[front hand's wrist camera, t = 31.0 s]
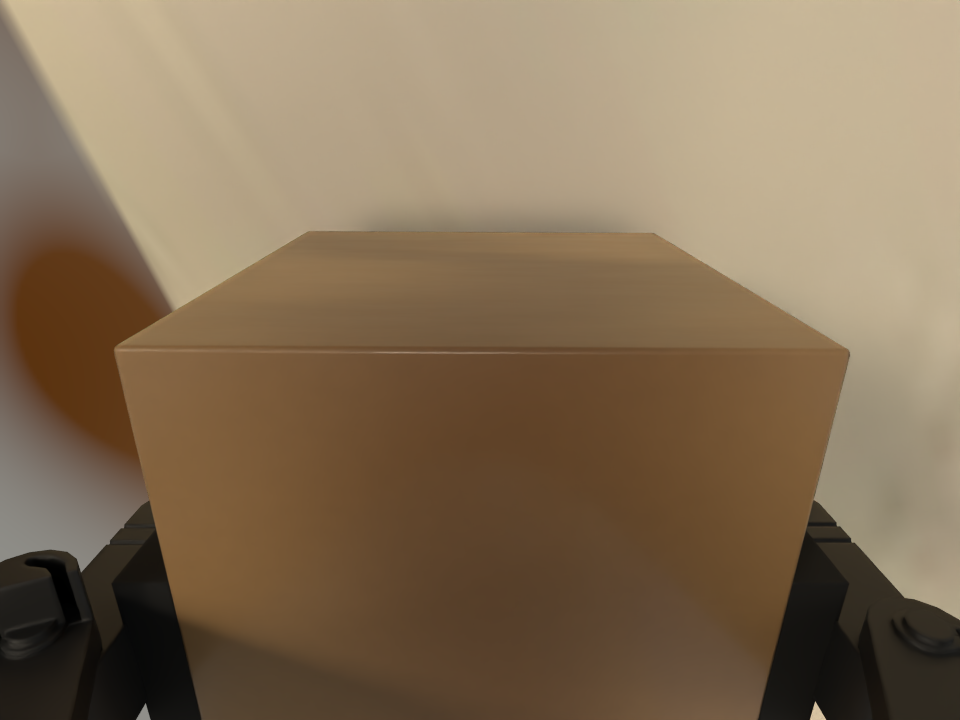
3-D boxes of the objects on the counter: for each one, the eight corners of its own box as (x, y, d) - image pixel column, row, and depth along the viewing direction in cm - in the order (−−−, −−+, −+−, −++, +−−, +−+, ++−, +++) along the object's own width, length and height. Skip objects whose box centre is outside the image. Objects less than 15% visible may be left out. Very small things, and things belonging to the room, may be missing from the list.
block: (338, 548, 17) (232, 861, 10) (306, 230, 14) (108, 346, 6) (619, 549, 17) (724, 863, 10) (655, 232, 14) (853, 349, 6)
